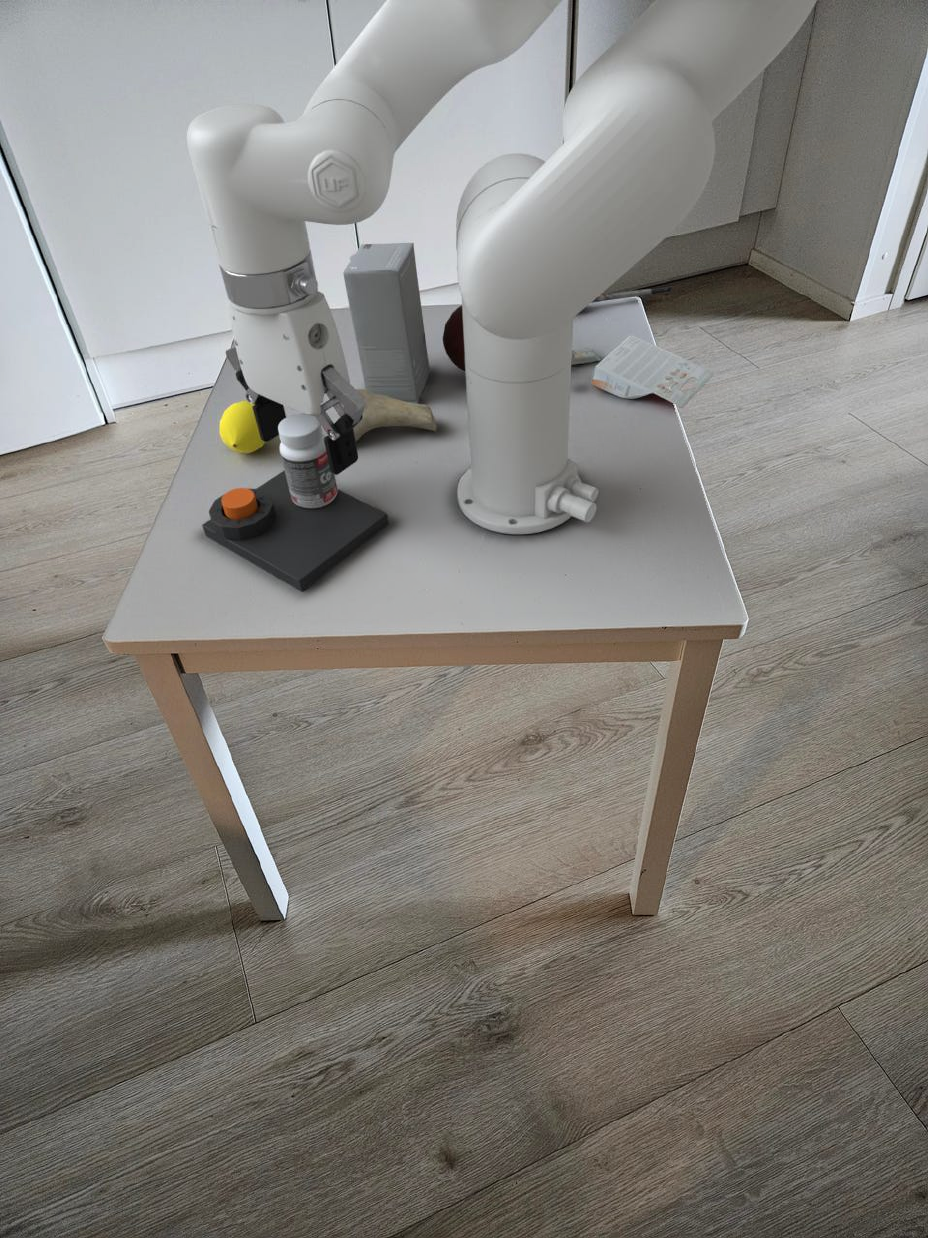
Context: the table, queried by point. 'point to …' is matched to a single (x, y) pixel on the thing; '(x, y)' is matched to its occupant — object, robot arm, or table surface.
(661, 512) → the table surface
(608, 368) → the ink box
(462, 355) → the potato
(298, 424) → the pill bottle
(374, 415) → the cream lumpy piece
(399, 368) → the cosmetic box
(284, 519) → the scale
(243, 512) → the button
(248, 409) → the lemon
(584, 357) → the granola bar
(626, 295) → the screwdriver
